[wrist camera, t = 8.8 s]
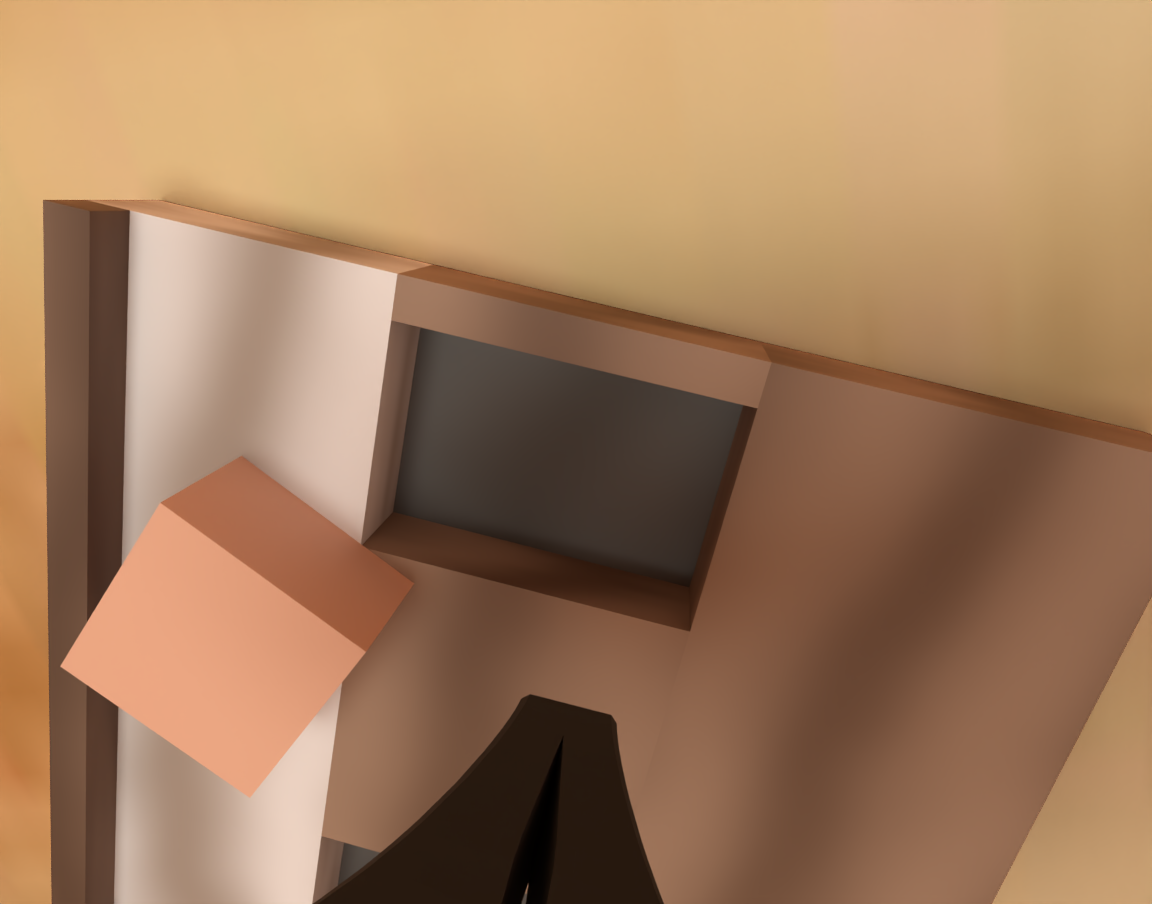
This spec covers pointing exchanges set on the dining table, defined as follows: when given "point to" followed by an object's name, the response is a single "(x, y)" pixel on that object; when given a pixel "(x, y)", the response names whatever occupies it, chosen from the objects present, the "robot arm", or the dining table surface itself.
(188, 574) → the terracotta block
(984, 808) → the trap board
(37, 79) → the dining table surface
